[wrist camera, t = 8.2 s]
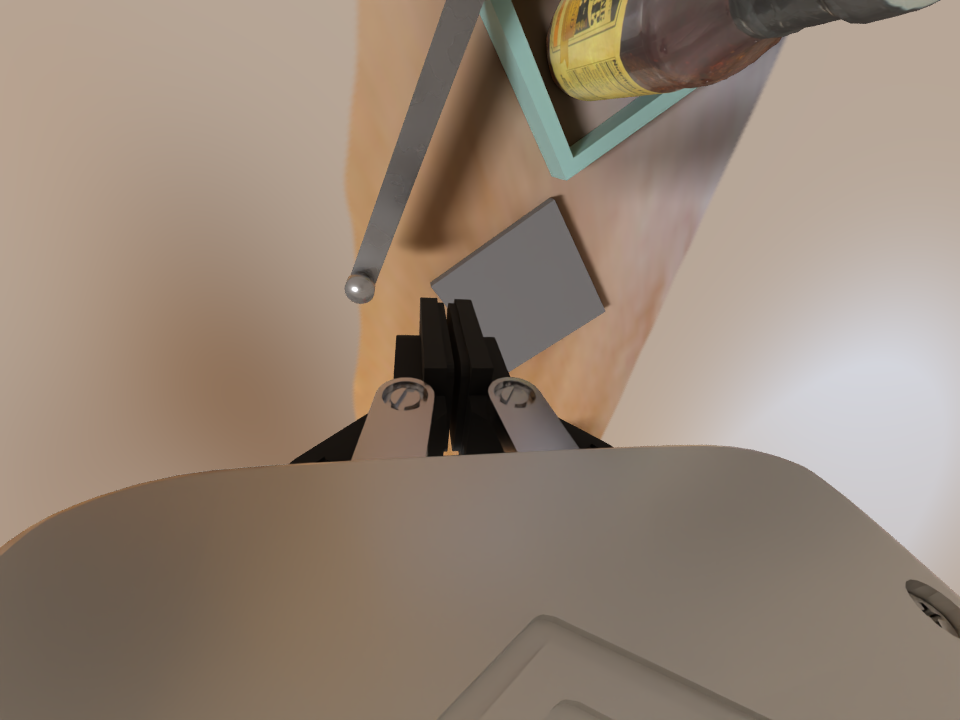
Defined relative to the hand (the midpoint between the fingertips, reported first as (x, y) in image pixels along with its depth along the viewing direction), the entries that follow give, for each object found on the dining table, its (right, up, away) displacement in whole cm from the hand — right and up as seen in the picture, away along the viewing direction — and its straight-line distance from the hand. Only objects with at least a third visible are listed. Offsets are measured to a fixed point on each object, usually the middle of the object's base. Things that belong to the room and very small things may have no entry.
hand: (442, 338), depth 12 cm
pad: (+5, +5, +20) cm, 22 cm away
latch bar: (-3, +13, +9) cm, 16 cm away
